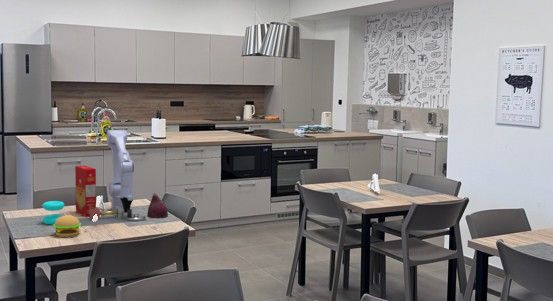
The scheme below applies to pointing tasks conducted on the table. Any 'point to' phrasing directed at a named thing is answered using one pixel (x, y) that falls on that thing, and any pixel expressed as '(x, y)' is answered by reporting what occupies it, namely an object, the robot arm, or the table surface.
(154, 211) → the vegetable
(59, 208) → the cyan stacked discs
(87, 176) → the food packaging
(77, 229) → the hamburger
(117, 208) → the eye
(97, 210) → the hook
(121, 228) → the table surface
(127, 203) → the robot arm
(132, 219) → the handwheel
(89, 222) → the board
